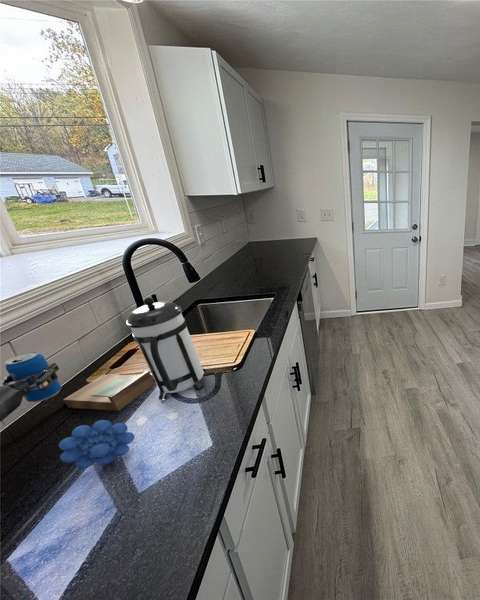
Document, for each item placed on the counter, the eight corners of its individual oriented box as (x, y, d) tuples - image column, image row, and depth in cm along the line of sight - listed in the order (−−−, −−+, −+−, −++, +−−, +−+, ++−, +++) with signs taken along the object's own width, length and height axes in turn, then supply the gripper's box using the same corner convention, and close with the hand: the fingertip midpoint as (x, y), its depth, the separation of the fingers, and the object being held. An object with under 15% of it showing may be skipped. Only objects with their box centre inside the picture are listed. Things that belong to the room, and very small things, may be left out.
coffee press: (140, 398, 94) (95, 307, 82) (191, 367, 107) (158, 286, 95) (178, 411, 87) (134, 315, 75) (227, 377, 100) (196, 291, 88)
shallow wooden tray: (67, 407, 92) (59, 394, 90) (108, 381, 103) (101, 369, 101) (119, 411, 89) (111, 397, 87) (155, 383, 100) (149, 371, 98)
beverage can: (21, 402, 81) (-5, 363, 76) (52, 386, 86) (29, 349, 82) (39, 405, 79) (13, 365, 75) (69, 389, 85) (47, 351, 80)
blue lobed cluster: (77, 492, 66) (48, 451, 61) (74, 474, 70) (47, 434, 65) (144, 456, 74) (122, 417, 69) (138, 441, 78) (117, 403, 73)
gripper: (15, 389, 68) (65, 350, 83) (-74, 406, 64) (-4, 362, 79) (33, 416, 71) (78, 374, 85) (-51, 433, 67) (12, 386, 82)
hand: (38, 369), depth 82 cm, fingers closed on beverage can, 6 cm apart
